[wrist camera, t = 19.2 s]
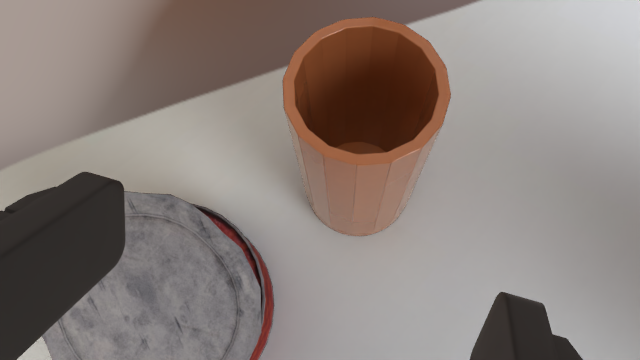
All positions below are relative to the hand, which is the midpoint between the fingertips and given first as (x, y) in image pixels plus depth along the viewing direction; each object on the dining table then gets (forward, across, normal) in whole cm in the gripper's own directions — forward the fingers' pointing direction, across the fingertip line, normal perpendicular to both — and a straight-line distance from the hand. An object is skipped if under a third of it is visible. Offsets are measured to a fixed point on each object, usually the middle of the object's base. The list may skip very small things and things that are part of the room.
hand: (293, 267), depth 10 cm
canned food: (+10, +7, +12) cm, 17 cm away
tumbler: (+16, 0, +6) cm, 17 cm away
